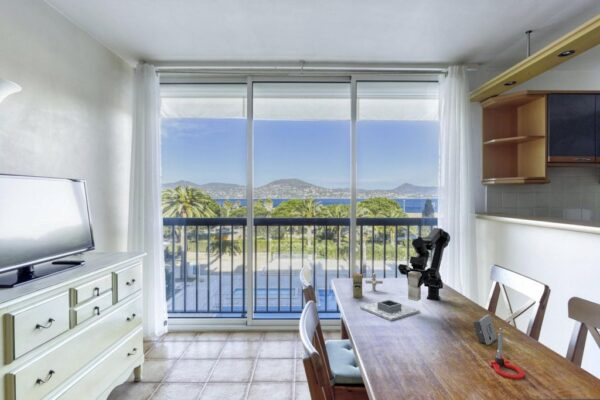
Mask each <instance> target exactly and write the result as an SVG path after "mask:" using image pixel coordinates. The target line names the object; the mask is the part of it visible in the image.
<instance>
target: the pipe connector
mask: <svg viewBox="0 0 600 400" xmlns="http://www.w3.org/2000/svg"><path fill="white" fill-rule="evenodd" d="M371 277H372V278H371V280H365V281H364V283H365V284H371V287H372V290H373V291H372V290H371V291H372V292H376V286H377V284H379V285H381V284H383V282H384V280H376V273H375V272H374V273H373V272H372V275H371Z"/></svg>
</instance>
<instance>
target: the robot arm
mask: <svg viewBox="0 0 600 400" xmlns="http://www.w3.org/2000/svg"><path fill="white" fill-rule="evenodd" d="M450 241H451V235H450V234H449V233H448V232H447V231H445V230H444V229H443V228H441V227H440V228H438V227H435V228H432V230H431V231H430V232H429V234H427V235H426V236H423V237H421V236H418V237H417V238H415V239H414V240H413V241H412V242H411V245H412V247H413V250H414V252H415V253H416V256H410V258H409V264H411V265H410V266H411V267H410V266H408V264H402V263H400V264H398V267H397V269H398V272H399V273H400V274H401V275H405V276H406V277H407V279H408V273H409V272H411V271H415V272H421V278H420V280H419V283H418V288H419V287H420V286H423V285H424V287H427V296H426V299H427V300H434V301H440V299H441V296H440V290H442V289H444V283H443V280H442V276H441V274H440V269H441V265H442V260H443V255H444V251H445V250H444V249H445V248H447V247H448V246H449V243H450ZM430 251H433V254H432V259H431V264H430V267H428V262H429V258H431V254H430Z"/></svg>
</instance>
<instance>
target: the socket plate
mask: <svg viewBox="0 0 600 400" xmlns="http://www.w3.org/2000/svg"><path fill="white" fill-rule="evenodd" d="M359 308H360V309H361V310H362V311H363V310H364V311H366V312H368V313H370V314H373V315H375V316H378V317H380V318H383V319H385V320H388V321H389V322H391V321H392V322H393V321H396V320H398V319H402V318H406V317H408V316H411V315H415V314H418V313H420V312H421V311H420V309H417V308H414V307H412V306H409V305H405V304H402V303H401V302H396V301H393V300H391V299H385V300H381V301H377V302H372V303H368V304H365V305H361V306H360V307H359Z"/></svg>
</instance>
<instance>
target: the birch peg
mask: <svg viewBox="0 0 600 400" xmlns="http://www.w3.org/2000/svg"><path fill="white" fill-rule="evenodd" d="M420 278H421V272H415V271H411V272H409V273H408V278H407V285H408V286H407V288H408V289H407V291H408V292H407V294H408V295H407V296H408V297H407V299H408V300H409V301H414V302H419V301H420V300H421V298H422V297H421V296H422V295H421V294H422V293H421V292H422V291H421V289H422V288H421V286H422V285H421V286H420V287H419V288H418V283H419V280H420Z"/></svg>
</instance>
